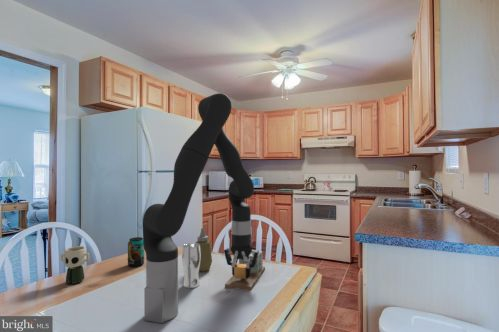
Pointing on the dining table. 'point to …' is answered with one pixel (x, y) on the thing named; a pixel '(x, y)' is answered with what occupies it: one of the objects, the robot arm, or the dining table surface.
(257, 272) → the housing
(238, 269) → the shaft
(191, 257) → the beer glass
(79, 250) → the character mug
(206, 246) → the squeeze bottle
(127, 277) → the dining table surface
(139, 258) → the beverage can
